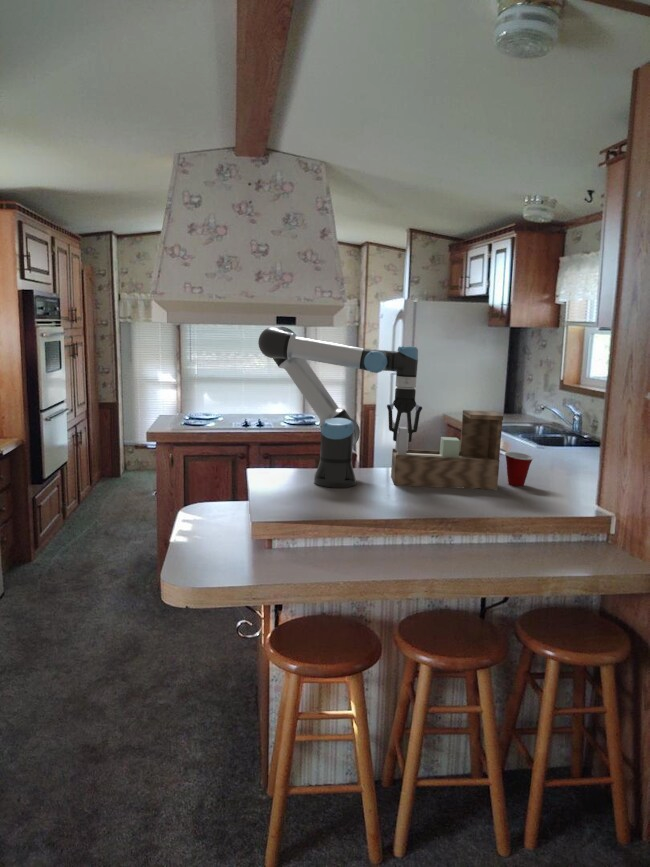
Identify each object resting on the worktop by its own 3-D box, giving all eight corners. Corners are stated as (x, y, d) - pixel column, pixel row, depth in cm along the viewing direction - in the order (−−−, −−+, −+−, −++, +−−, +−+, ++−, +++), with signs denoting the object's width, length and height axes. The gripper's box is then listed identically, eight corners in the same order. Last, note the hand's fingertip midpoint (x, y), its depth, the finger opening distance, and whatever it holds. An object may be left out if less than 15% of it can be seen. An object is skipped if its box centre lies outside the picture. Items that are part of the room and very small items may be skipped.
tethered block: (398, 456, 246) (399, 428, 245) (396, 452, 253) (398, 426, 252) (458, 459, 246) (460, 431, 244) (455, 455, 253) (457, 429, 251)
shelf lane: (394, 484, 244) (398, 411, 240) (390, 476, 258) (395, 406, 254) (496, 489, 244) (503, 416, 240) (488, 481, 258) (494, 411, 254)
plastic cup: (525, 489, 246) (528, 458, 245) (497, 484, 253) (500, 453, 251) (535, 485, 255) (538, 454, 253) (508, 480, 261) (511, 450, 260)
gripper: (384, 387, 242) (380, 450, 246) (428, 389, 242) (424, 452, 246) (383, 386, 250) (379, 447, 253) (425, 388, 249) (421, 449, 253)
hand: (401, 449), depth 249 cm, fingers closed on tethered block, 3 cm apart
